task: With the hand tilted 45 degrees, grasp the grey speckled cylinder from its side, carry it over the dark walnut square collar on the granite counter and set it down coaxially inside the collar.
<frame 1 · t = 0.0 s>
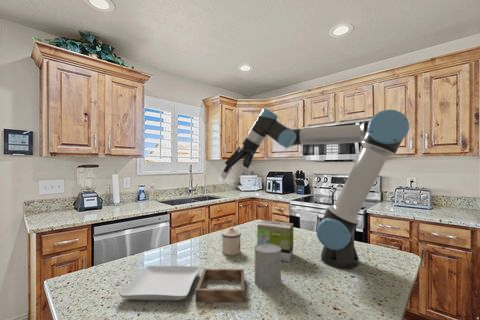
hand: (230, 176, 117), 36 cm above the countertop, tool tilted 35°, fingers open, 13 cm apart
tea box: (275, 256, 111), on the countertop
grey speckled cylinder: (267, 282, 86), on the countertop
teacup with lid: (230, 251, 116), on the countertop
salad plate: (164, 288, 82), on the countertop
collar: (222, 289, 81), on the countertop
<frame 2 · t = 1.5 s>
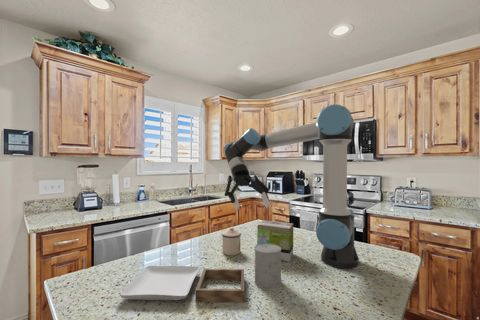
hand: (253, 207, 96), 25 cm above the countertop, tool tilted 45°, fingers open, 13 cm apart
nothing on the countertop moved.
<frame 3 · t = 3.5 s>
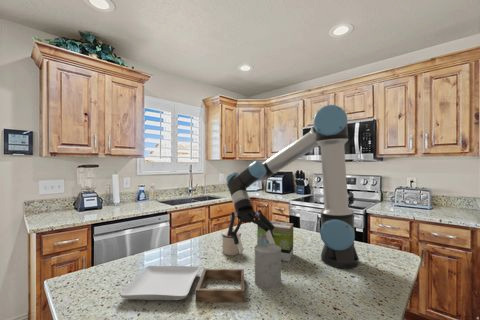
hand: (258, 249, 91), 10 cm above the countertop, tool tilted 45°, fingers open, 13 cm apart
nothing on the countertop moved.
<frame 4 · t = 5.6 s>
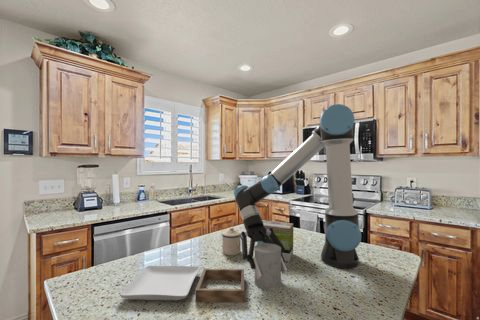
hand: (272, 274, 83), 4 cm above the countertop, tool tilted 45°, fingers closed on grey speckled cylinder, 9 cm apart
grey speckled cylinder: (267, 282, 86), on the countertop, touching gripper
everything else where it was.
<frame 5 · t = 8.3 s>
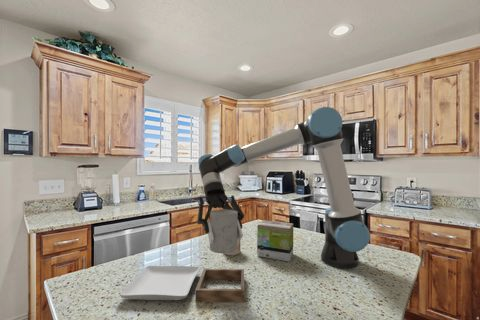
hand: (226, 239, 79), 17 cm above the countertop, tool tilted 45°, fingers closed on grey speckled cylinder, 9 cm apart
grey speckled cylinder: (223, 248, 82), point 13 cm above the countertop, touching gripper
everything else where it was.
when the fingers open (6 cm above the countertop, at t = 11.0 s): grey speckled cylinder drops 2 cm, resting in collar.
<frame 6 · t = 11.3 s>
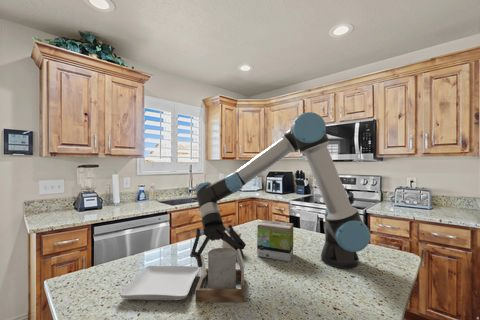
hand: (224, 272, 79), 7 cm above the countertop, tool tilted 45°, fingers open, 13 cm apart
grey speckled cylinder: (222, 289, 81), resting in collar
everything else where it was.
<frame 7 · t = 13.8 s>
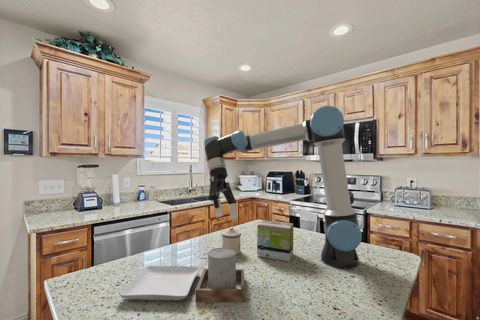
hand: (227, 217, 97), 21 cm above the countertop, tool tilted 25°, fingers open, 13 cm apart
nothing on the countertop moved.
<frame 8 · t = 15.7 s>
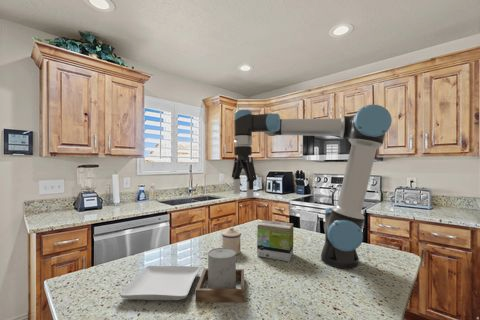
hand: (243, 195, 103), 29 cm above the countertop, tool pointing down, fingers open, 13 cm apart
nothing on the countertop moved.
at the end: grey speckled cylinder inside the target area on the collar (0.1 cm from its centre), point 0.0 cm above the collar's base; grey speckled cylinder tilted 0°; the gripper is holding nothing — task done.
